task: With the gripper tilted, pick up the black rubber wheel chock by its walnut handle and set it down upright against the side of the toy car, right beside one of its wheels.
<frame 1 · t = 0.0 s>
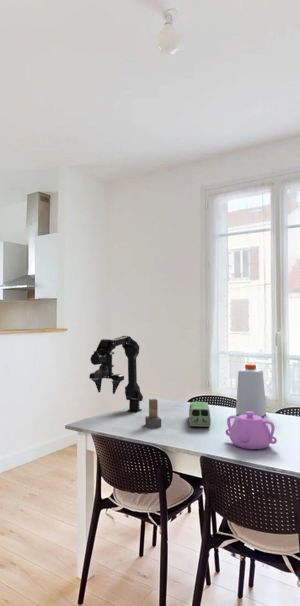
hand: (106, 393, 196), 15 cm above the table, tool pointing down, fingers open, 9 cm apart
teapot: (248, 447, 156), on the table
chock: (153, 425, 188), on the table
plastic bottle: (251, 414, 212), on the table
toy car: (199, 423, 194), on the table
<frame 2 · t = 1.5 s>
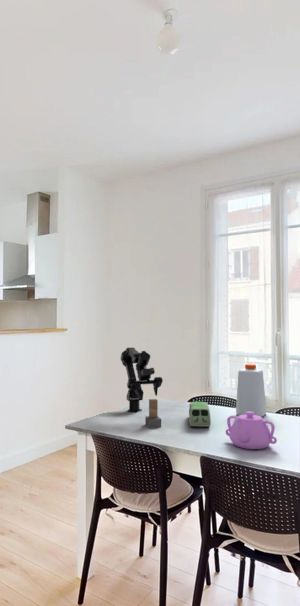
hand: (148, 395, 196), 13 cm above the table, tool tilted 45°, fingers open, 9 cm apart
nothing on the table moved.
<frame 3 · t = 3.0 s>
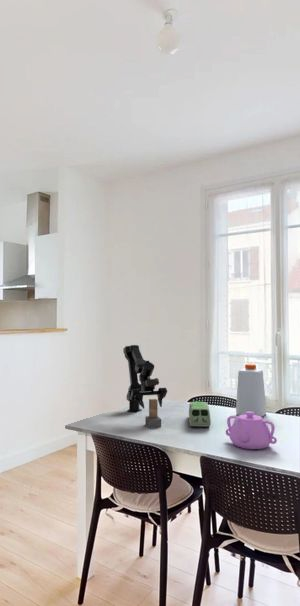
hand: (152, 407, 190), 9 cm above the table, tool tilted 45°, fingers open, 9 cm apart
nothing on the table moved.
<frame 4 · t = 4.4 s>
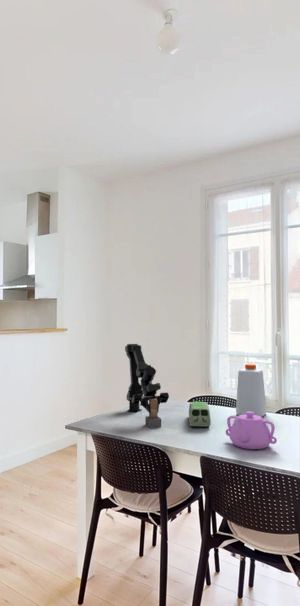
hand: (154, 412, 187), 7 cm above the table, tool tilted 45°, fingers closed on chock, 3 cm apart
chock: (153, 425, 188), on the table, touching gripper
everything else where it was.
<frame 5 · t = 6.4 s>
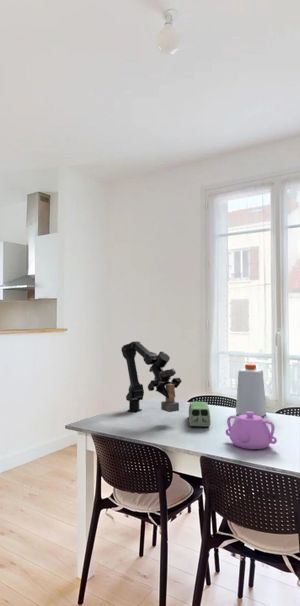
hand: (171, 397, 192), 13 cm above the table, tool tilted 45°, fingers closed on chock, 3 cm apart
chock: (169, 410, 192), point 7 cm above the table, touching gripper
everything else where it was.
when the fingers open (8 cm above the table, at t = 8.3 s): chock drops 1 cm, on the table.
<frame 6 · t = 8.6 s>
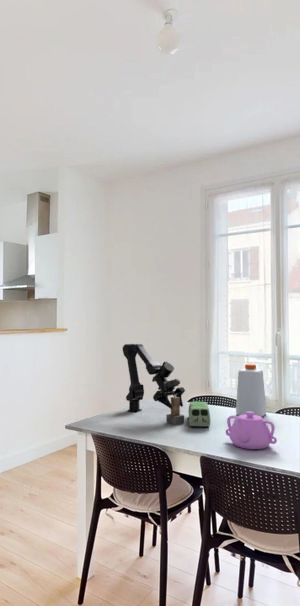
hand: (177, 407, 193), 8 cm above the table, tool tilted 45°, fingers open, 7 cm apart
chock: (175, 422, 194), on the table
everything else where it was.
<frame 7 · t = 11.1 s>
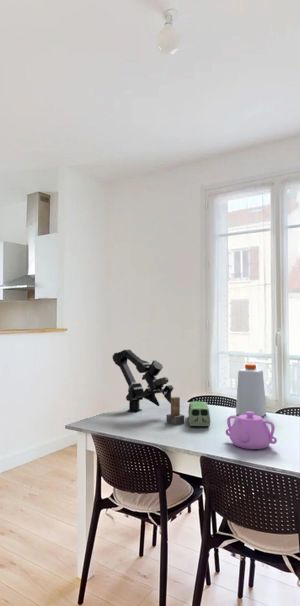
hand: (165, 404, 200), 8 cm above the table, tool tilted 45°, fingers open, 9 cm apart
nothing on the table moved.
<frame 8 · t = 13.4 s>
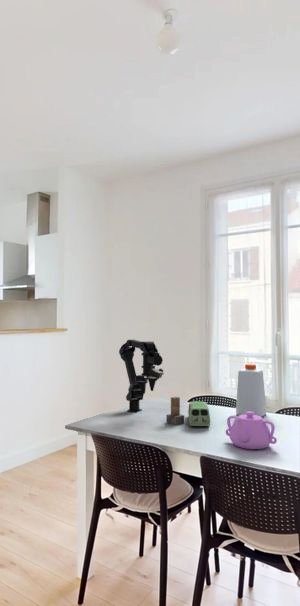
hand: (148, 392, 209), 13 cm above the table, tool pointing down, fingers open, 9 cm apart
nothing on the table moved.
at the end: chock inside the target area on the table beside the toy car (1.1 cm from its centre), on the table; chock tilted 0°; the gripper is holding nothing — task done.
